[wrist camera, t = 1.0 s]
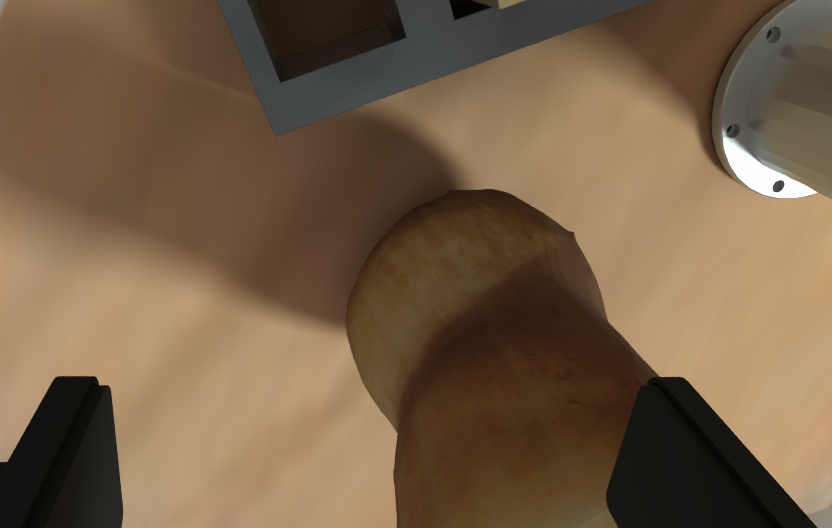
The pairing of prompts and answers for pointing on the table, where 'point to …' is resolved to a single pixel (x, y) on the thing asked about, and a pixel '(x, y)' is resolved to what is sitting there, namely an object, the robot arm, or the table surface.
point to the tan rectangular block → (498, 3)
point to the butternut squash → (493, 366)
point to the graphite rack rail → (395, 50)
